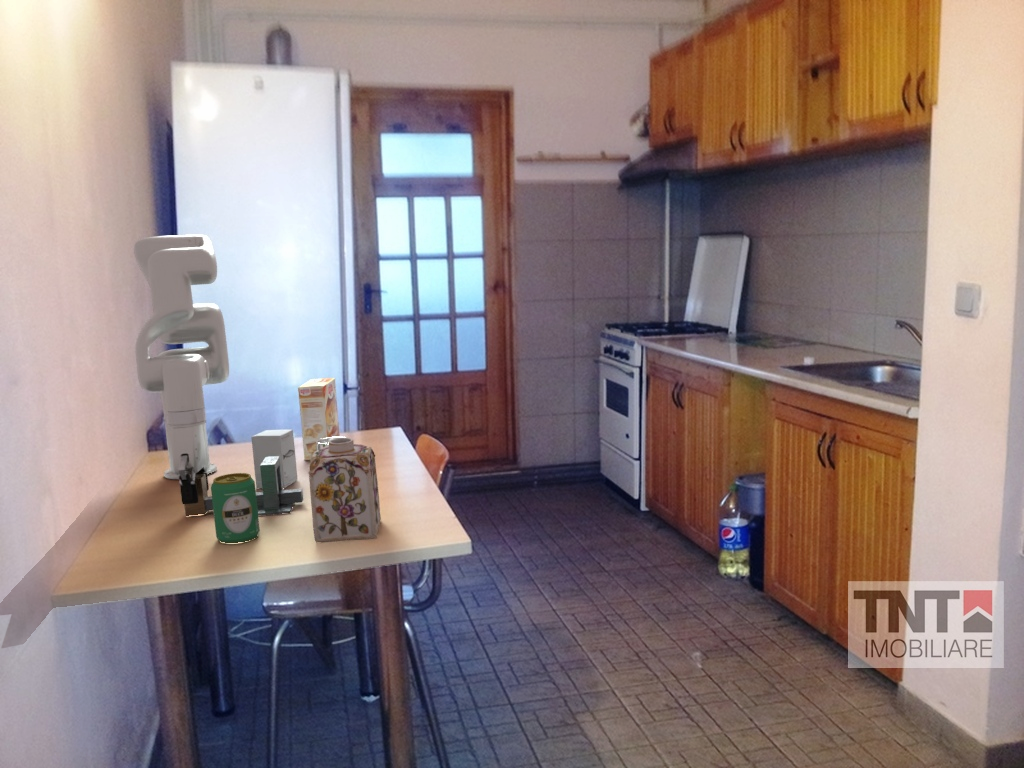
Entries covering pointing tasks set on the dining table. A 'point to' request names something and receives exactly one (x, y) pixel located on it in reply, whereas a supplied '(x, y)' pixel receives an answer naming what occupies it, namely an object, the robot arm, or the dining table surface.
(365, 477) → the decorative jar
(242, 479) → the beverage can
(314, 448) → the coffeecake box
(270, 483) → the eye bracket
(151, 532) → the dining table surface
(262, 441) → the supplement box
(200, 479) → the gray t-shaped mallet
